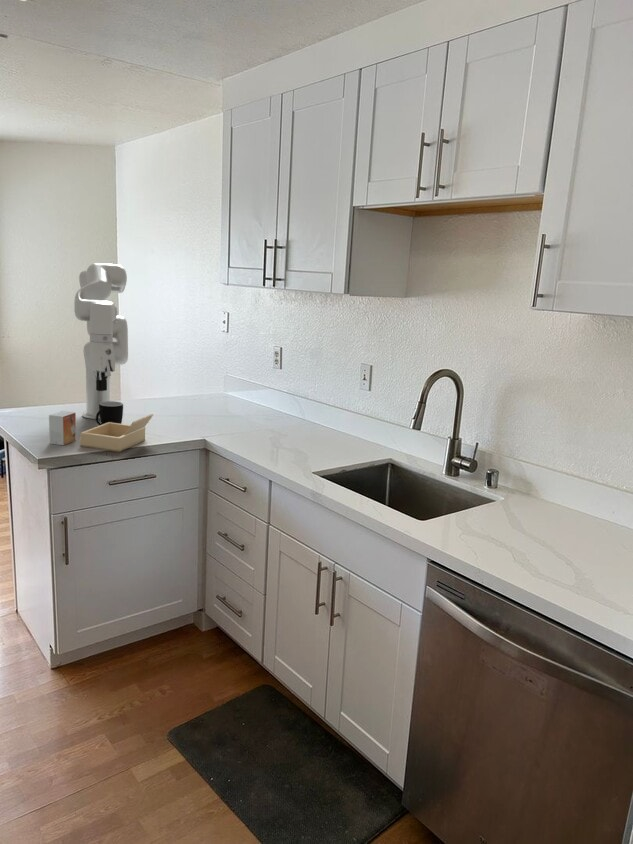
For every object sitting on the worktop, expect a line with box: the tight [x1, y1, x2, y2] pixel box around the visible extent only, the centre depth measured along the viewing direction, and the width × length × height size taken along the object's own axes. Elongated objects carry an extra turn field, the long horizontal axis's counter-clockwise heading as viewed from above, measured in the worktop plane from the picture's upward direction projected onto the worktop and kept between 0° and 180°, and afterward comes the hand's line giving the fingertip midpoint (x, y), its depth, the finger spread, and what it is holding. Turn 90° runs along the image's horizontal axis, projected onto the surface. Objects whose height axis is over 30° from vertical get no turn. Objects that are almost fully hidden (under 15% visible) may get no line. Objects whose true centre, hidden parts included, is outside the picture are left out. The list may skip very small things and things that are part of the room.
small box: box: [48, 410, 77, 446], centre depth 221 cm, size 8×6×10 cm
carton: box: [79, 422, 146, 453], centre depth 225 cm, size 18×15×5 cm
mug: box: [95, 400, 124, 426], centre depth 242 cm, size 12×9×10 cm
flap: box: [124, 413, 154, 435], centre depth 222 cm, size 14×6×1 cm
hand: (101, 390), depth 220 cm, fingers closed
